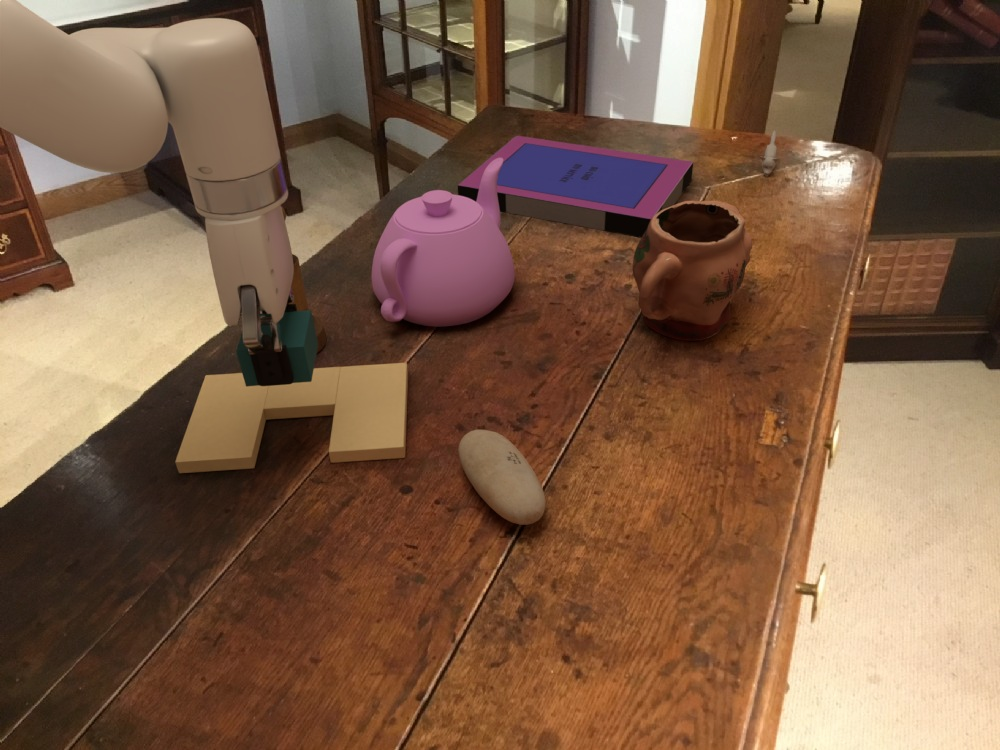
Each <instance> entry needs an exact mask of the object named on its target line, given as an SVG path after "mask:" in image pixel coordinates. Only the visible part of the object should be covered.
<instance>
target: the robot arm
mask: <svg viewBox="0 0 1000 750" xmlns="http://www.w3.org/2000/svg"><path fill="white" fill-rule="evenodd" d="M169 124H170V125H171V128H172V130H173V133H174V136H175V137H174V138H175V140H176V143H177V147H178V150H179V155H180V158H181V162H182V164H183V168H184V172H185V174H186V179H187V183H188V187H189V189H190V193H191V197H192V200H193V203H194V207H195V211H196V213H197V214H199V215H200V216H201V217H204V225H205V234H206V241H207V248H208V253H209V259H210V265H211V269H212V275H213V279H214V283H215V287H216V291H217V296H218V301H219V305H220V308H221V314H222V317H223V320H224V323H225V324H226V325H227V326H228V327H229V328H233V327H234V326H239V322H240V320H241V327H242V330H241V332H242V331H243V343H244V345H245V346H246V347H248V352H249V354H250V356H251V360H252V364H253V367H254V371H255V375H256V379H257V382H258V384H259V385H260V386H274V385H287V384H292V383H293V380H294V376H293V371H292V367H291V363H290V359H289V354H288V350H287V346H286V345H282V340H281V332H280V325H279V321H280V320H281V318H282V317H283V315H284V312H294V311H297V307H296V304H289V303H293V302H294V294H293V290H292V288H291V284H292V280H293V273H294V265H293V257H292V254H293V253H292V245H291V241H290V237H289V232H288V229H287V224H286V220H284V216H283V212H282V208H281V206H282V205H283V204H284V203H285V202H286V201H287V200H288V197H289V190H288V185H287V180H286V176H285V171H284V166H283V161H282V157H281V152H280V148H279V143H278V137H277V132H276V127H275V123H274V118H273V111H272V108H271V103H270V99H269V93H268V89H267V84H266V79H265V74H264V70H263V66H262V61H261V55H260V51H259V46H258V42H257V40H256V37H255V35H254V34H253V32H252V30H251V29H250V28H249V27H248V26H247V25H245V24H244V23H242V22H240V21H238V20H235V19H229V18H223V17H218V18H217V17H205V18H198V19H191V20H186V21H181V22H178V23H175V24H172V25H170V26H168V27H92V28H86V29H85V28H84V29H81V30H77V31H75V32H72V33H70V34H68V33H66V31H65V32H64V31H63V30H62V29H60V28H58V27H57V26H55V25H53V24H52V23H50V22H49V21H47V20H46V19H44V18H42V17H41V16H40V15H38V14H37V13H35V12H34V11H33V10H31V9H30V8H28V7H26V6H25V5H23V4H22V3H21V2H19V1H18V0H0V128H1V129H3V130H5V131H6V132H9V133H10V134H11V135H13V136H16V137H19V138H20V139H22V140H24V141H26V142H28V143H30V144H31V145H34V146H36V147H38V148H40V149H42V150H43V151H46V152H48V153H49V154H52V155H54V156H55V157H58V158H59V159H62V160H63V161H64V160H65V161H66V162H69V163H70V164H73V165H75V166H79V167H81V168H84V169H87V170H92V171H94V172H100V173H107V174H109V173H110V174H115V173H126V172H130V171H135V170H137V169H140V168H141V167H144V166H145V165H146V164H148V163H149V162H150V161H152V160H153V159H154V158H155V157H156V156H157V154H159V152H160V151H161V150H162V147H163V145H164V143H165V141H166V137H167V134H168V128H169ZM266 313H267V314H271V316H260V314H266ZM261 325H270V326H271V333H272V337H270V336H269V335H263V333H262V331H261Z"/></svg>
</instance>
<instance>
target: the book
mask: <svg viewBox="0 0 1000 750" xmlns="http://www.w3.org/2000/svg"><path fill="white" fill-rule="evenodd" d="M497 158H503V164H502V167H501V169H500V171H499V174H498V179H497V196H498V202H499V209H500V212H502V213H507V214H514V215H519V216H523V217H529V218H535V219H540V220H546V221H551V222H555V223H562V224H567V225H572V226H577V227H583V228H589V229H594V230H600V231H606V232H611V233H616V234H620V235H621V234H622V235H627V236H632V237H638V238H642V236H643V235H644V233H645V231H646V230H647V227H648V224H649V222H650V221H651V219H652V218H653V217H654V216H655V215H656V214H657V213H658V212H660V211H661V210H663V209H666V208H668V207H671V206H673V205H676V204H677V202H678V201H679V199H680V197H681V196H682V195H683V193H684V192H685V190H686V189H687V187H688V186H689V184H690V183H691V182H692V180H693V179H692V177H693V170H694V161H692V160H685V159H679V158H672V157H671V158H670V157H664V156H657V155H651V154H643V153H638V152H637V153H636V152H630V151H623V150H617V149H610V148H604V147H603V148H602V147H596V146H589V145H583V144H576V143H571V142H563V141H555V140H550V139H542V138H536V137H529V136H523V135H515V136H514V137H513V138H511V139H510V140H509V141H508V142H507V143H506V144H504V145H503V146H502V147H501V148H499V149H498V150H497V151H496V152H495V153H494V154H493V155H491V156H490V157H488V159H486V160H485V161H484V162H483V163H482V164H481V165H479V166H478V167H477V168H476V169H474V170H473V171H472V172H470V174H469V175H467V177H465V178H464V179H463V180H462V181H460V182H459V183H458V184H457V195H459V196H464V197H467V198H470V199H472V200H474V201H475V202H476V201H477V196H478V191H479V187H480V182H481V179H482V176H483V173H484V171H485V169H486V167H487V166H488V165H489V164H490V163H491V162H492V161H493V160H495V159H497Z"/></svg>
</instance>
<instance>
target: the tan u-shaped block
mask: <svg viewBox="0 0 1000 750" xmlns="http://www.w3.org/2000/svg"><path fill="white" fill-rule="evenodd" d="M408 388H409V370H408V363H407V362H395V363H394V362H393V363H380V364H379V363H378V364H377V363H376V364H363V365H348V366H346V365H345V366H330V367H329V366H328V367H317V368H316V367H314V370H313V376H312V381H311V382H301V383H292V384H287V385H274V386H260V385H259V386H246V384H245V381H244V377H243V374H242V372H235V373H221V374H220V373H218V374H206V375H205V376H204V380H203V381H202V384H201V387H200V389H199V393H198V396H197V399H196V402H195V404H194V407H193V410H192V413H191V416H190V419H189V421H188V425H187V428H186V430H185V433H184V436H183V439H182V441H181V444H180V447H179V450H178V453H177V455H176V459H175V461H174V463H175V465H176V469H177V472H178V474H188V473H189V474H190V473H191V474H192V473H204V472H218V471H219V472H220V471H233V470H248V469H249V470H250V469H255V468H256V467H255V466H256V463H257V459H258V455H259V451H260V446H261V442H262V438H263V434H264V430H265V425H266V421H267V420H268V421H269V420H280V419H296V418H311V417H325V416H326V417H327V416H333V418H332V425H331V426H332V427H331V432H330V438H329V444H328V445H329V447H328V456H329V460H330V463H331V464H332V463H333V464H335V463H348V462H364V461H376V460H377V461H378V460H393V459H405V458H406V450H407V449H406V447H407V419H408V417H407V415H408Z"/></svg>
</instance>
